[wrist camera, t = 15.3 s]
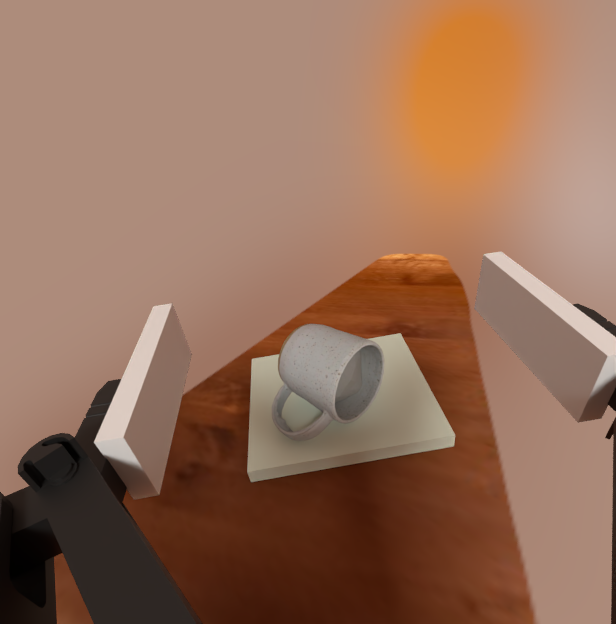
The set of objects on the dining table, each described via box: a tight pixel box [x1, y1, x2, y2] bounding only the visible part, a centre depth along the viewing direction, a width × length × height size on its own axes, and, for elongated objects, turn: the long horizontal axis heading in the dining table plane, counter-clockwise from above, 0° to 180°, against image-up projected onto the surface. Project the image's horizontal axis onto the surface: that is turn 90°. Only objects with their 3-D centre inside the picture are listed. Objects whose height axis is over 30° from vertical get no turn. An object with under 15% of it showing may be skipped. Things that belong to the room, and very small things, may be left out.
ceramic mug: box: [272, 324, 384, 441], centre depth 34 cm, size 11×8×8 cm
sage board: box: [247, 333, 455, 482], centre depth 38 cm, size 18×15×2 cm
